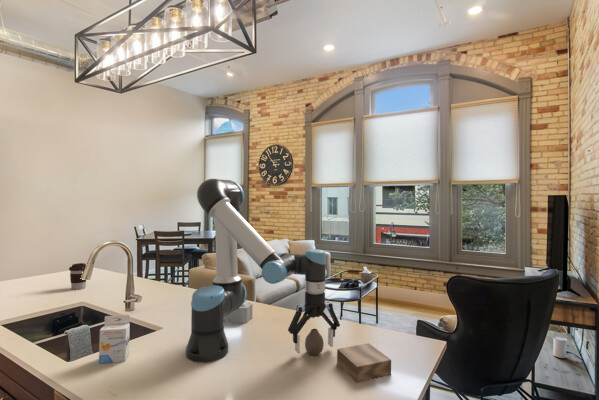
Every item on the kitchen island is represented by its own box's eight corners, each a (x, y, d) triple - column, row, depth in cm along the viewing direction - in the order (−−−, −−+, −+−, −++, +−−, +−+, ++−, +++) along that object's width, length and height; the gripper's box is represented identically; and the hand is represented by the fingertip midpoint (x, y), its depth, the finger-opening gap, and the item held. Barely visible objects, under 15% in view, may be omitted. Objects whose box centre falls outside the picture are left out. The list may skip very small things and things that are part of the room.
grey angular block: (244, 324, 148) (244, 305, 147) (219, 320, 152) (219, 302, 152) (254, 316, 157) (254, 299, 157) (231, 313, 162) (231, 296, 161)
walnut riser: (356, 382, 102) (357, 366, 102) (337, 363, 114) (337, 348, 114) (391, 375, 107) (391, 359, 107) (368, 356, 119) (368, 343, 119)
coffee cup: (64, 290, 197) (64, 265, 197) (78, 285, 207) (78, 262, 207) (78, 291, 195) (79, 266, 195) (92, 286, 205) (92, 263, 205)
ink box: (98, 364, 111) (98, 321, 111) (103, 357, 116) (104, 315, 116) (125, 361, 113) (126, 319, 113) (129, 355, 118) (130, 314, 118)
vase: (310, 359, 117) (311, 334, 117) (301, 351, 123) (302, 328, 123) (326, 355, 120) (327, 331, 120) (317, 347, 126) (317, 325, 126)
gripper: (286, 297, 113) (286, 358, 113) (349, 291, 122) (348, 347, 122) (280, 291, 120) (279, 349, 120) (339, 286, 129) (338, 339, 129)
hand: (314, 348), depth 121 cm, fingers open, 13 cm apart
